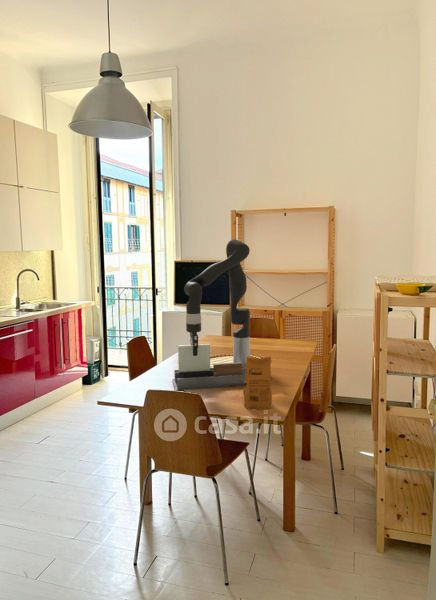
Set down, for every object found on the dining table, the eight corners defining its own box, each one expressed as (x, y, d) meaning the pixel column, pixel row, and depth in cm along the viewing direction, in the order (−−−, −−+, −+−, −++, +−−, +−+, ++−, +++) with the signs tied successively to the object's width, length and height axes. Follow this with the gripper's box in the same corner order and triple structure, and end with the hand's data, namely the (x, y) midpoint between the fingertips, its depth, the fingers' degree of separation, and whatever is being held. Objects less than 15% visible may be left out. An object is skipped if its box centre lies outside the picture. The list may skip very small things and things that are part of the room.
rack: (172, 381, 245) (172, 369, 244) (244, 377, 252) (244, 365, 251) (175, 393, 227) (175, 380, 226) (253, 388, 233) (253, 375, 232)
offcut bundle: (213, 381, 240) (213, 363, 239) (240, 379, 243) (240, 362, 241) (215, 384, 234) (215, 367, 233) (243, 383, 237) (243, 365, 236)
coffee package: (243, 401, 215) (243, 353, 212) (271, 401, 215) (271, 353, 212) (243, 409, 206) (242, 359, 203) (272, 409, 205) (272, 359, 202)
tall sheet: (178, 380, 243) (178, 345, 240) (209, 378, 245) (209, 343, 243) (179, 381, 241) (178, 346, 239) (210, 379, 244) (210, 344, 241)
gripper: (184, 319, 245) (185, 350, 248) (187, 324, 231) (188, 357, 234) (199, 319, 247) (199, 349, 249) (203, 324, 233) (203, 356, 235)
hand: (194, 353), depth 241 cm, fingers open, 8 cm apart
